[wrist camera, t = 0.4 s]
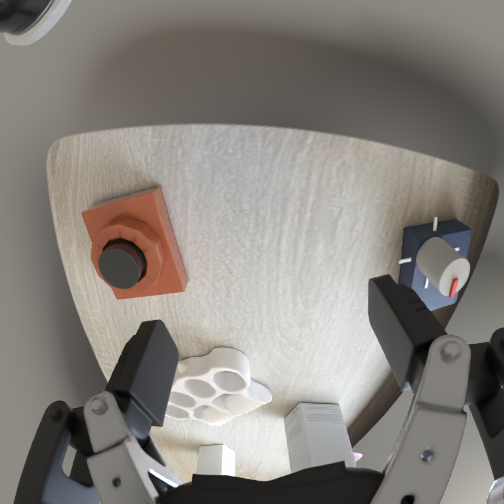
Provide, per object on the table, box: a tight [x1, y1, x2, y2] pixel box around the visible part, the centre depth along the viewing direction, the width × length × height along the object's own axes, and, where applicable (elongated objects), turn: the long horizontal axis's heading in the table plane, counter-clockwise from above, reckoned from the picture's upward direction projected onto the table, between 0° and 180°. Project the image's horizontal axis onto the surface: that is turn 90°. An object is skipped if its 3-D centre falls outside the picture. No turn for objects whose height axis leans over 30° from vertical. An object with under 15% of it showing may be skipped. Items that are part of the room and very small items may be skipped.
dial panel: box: [399, 217, 472, 311], centre depth 25 cm, size 12×10×3 cm
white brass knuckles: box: [165, 347, 272, 426], centre depth 34 cm, size 3×18×15 cm
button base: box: [82, 186, 188, 300], centre depth 24 cm, size 10×8×4 cm
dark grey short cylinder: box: [98, 240, 145, 289], centre depth 22 cm, size 4×4×2 cm
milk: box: [197, 444, 235, 476], centre depth 39 cm, size 6×6×22 cm
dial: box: [416, 237, 470, 297], centre depth 21 cm, size 4×4×5 cm
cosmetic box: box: [284, 402, 357, 473], centre depth 33 cm, size 8×7×16 cm
